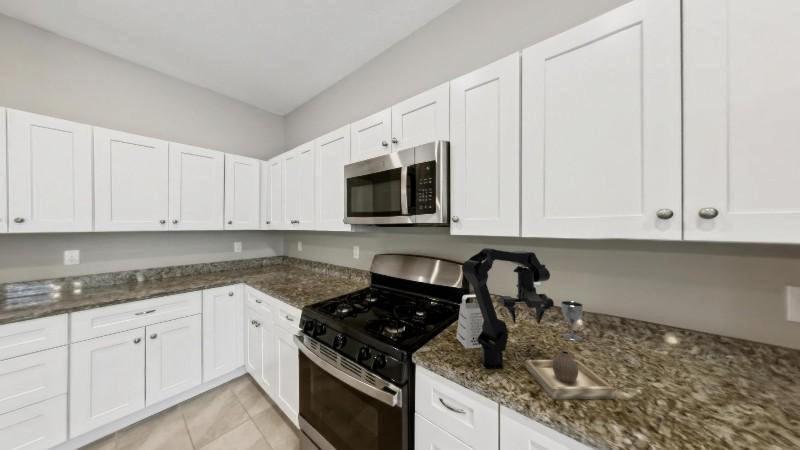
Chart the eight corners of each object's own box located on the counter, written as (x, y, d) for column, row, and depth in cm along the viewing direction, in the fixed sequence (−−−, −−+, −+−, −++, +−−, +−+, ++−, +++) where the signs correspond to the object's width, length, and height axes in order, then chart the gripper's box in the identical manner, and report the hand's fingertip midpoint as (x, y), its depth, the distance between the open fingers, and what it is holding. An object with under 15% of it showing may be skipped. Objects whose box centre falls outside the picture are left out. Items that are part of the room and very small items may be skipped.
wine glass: (586, 341, 110) (586, 306, 110) (566, 340, 112) (565, 305, 112) (577, 333, 118) (577, 301, 118) (558, 332, 120) (558, 300, 120)
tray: (552, 399, 74) (552, 388, 74) (525, 368, 90) (525, 360, 90) (614, 398, 74) (614, 388, 74) (576, 368, 90) (576, 359, 90)
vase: (579, 388, 78) (578, 359, 78) (552, 381, 81) (552, 354, 81) (577, 377, 84) (577, 350, 84) (552, 371, 87) (552, 345, 87)
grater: (489, 346, 107) (489, 298, 107) (465, 348, 105) (465, 299, 105) (478, 335, 117) (477, 292, 117) (456, 337, 116) (455, 293, 116)
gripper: (509, 288, 93) (510, 331, 93) (562, 288, 92) (562, 331, 92) (498, 281, 104) (499, 320, 104) (545, 281, 103) (546, 320, 103)
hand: (526, 323), depth 100 cm, fingers open, 9 cm apart
